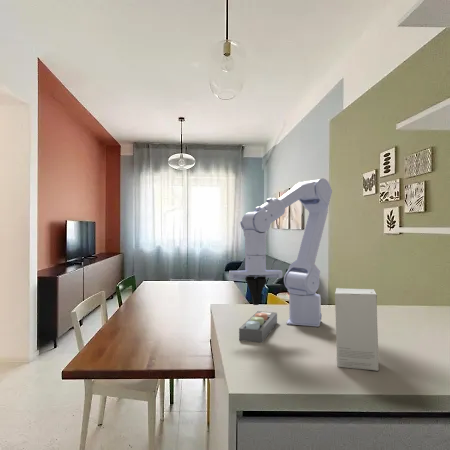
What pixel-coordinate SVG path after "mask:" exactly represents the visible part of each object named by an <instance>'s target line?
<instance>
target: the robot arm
mask: <svg viewBox="0 0 450 450" xmlns="http://www.w3.org/2000/svg"><path fill="white" fill-rule="evenodd" d="M332 193H333V190H332V187H331V185H330V182H329V181H328V179H326V178H319V179H312V180H305V181H303V180H302V181H298V182H297V183H296V184H293V187H291V188H290V189H289V190H287V192H285V193H284V194H282V195H281V196H280V197H279V198H276V197H269V198H266V199H265V203H263V204H261V205H260V206H256V207H254V210H253V211H248V212H246V213H244V214H243V217H241V218H242V219H241V221H240V222H239V223H240V228H241V230H243V236H244V253H245V254H244V256H245V257H244V262H245V263H244V269H243V270H242V269H241V270H229V272H228V278H229V279H231V280H233V279H244V280H245V282H246V284H247V287H248V289H249V291H250V292H249V293H250V295H251V299H252V304H253V306H259V305H260V299H261V295H262V293H263V290H264V287H265V285H266V284H267V279H273V278H274V279H275V278H278V279H282V278H283V284H284V287H285V288H286V289H287V292H288V293H289V295H288V296H289V302H288V303H289V305H288V307H289V310H288V311H289V316H288V317H289V318H288V319H287V320H286V323H285V324H287V325H294V326H296V325H297V326H306V327H318V328H320V325H321V322H322V314H323V313H322V311H321V310H322V304H321V303H322V299H321V298H322V297H321V296H322V295H321V294H319V293H316V292H317V291H318V289H319V288H320V274H321V270H320V269H319V268H318V266H317V265H316V259H317V256H318V252H319V248H320V245H321V244H320V243H321V240H322V237H323V233H324V232H323V231H324V229H325V224H326V221H327V217H328V213H329V212H328V211H329V205H330V200H331V197H332ZM298 201H299V202H300V204H301V205H302V206H303V207H304V209H306V210H307V211H308V216H307V220H306V225H305V228H304V231H303V235H302V239H301V242H300V247H299V251H298V253H297V258H296V260H294V261H292V263H290V264H289V266H288V269H287V271H286V272H285V274H284V276H283V270H281V269H280V270H279V269H267V246H266V245H267V244H266V243H267V239H266V238H267V231H269V230H270V227H271V225H272V223H274V222H275V221H276V220H278V219H279V218H280V217H282V216H283V215H284V214H285V211H286V209H287V208H288V207H289V206H291V205H293V204H294V203H296V202H298Z"/></svg>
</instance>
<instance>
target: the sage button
mask: <svg viewBox="0 0 450 450" xmlns="http://www.w3.org/2000/svg"><path fill="white" fill-rule="evenodd" d="M251 317H252V316H251ZM251 317H250V318H251ZM251 321H257V322H259V323H260V325H264V318H262V317H252V318H251Z"/></svg>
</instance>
